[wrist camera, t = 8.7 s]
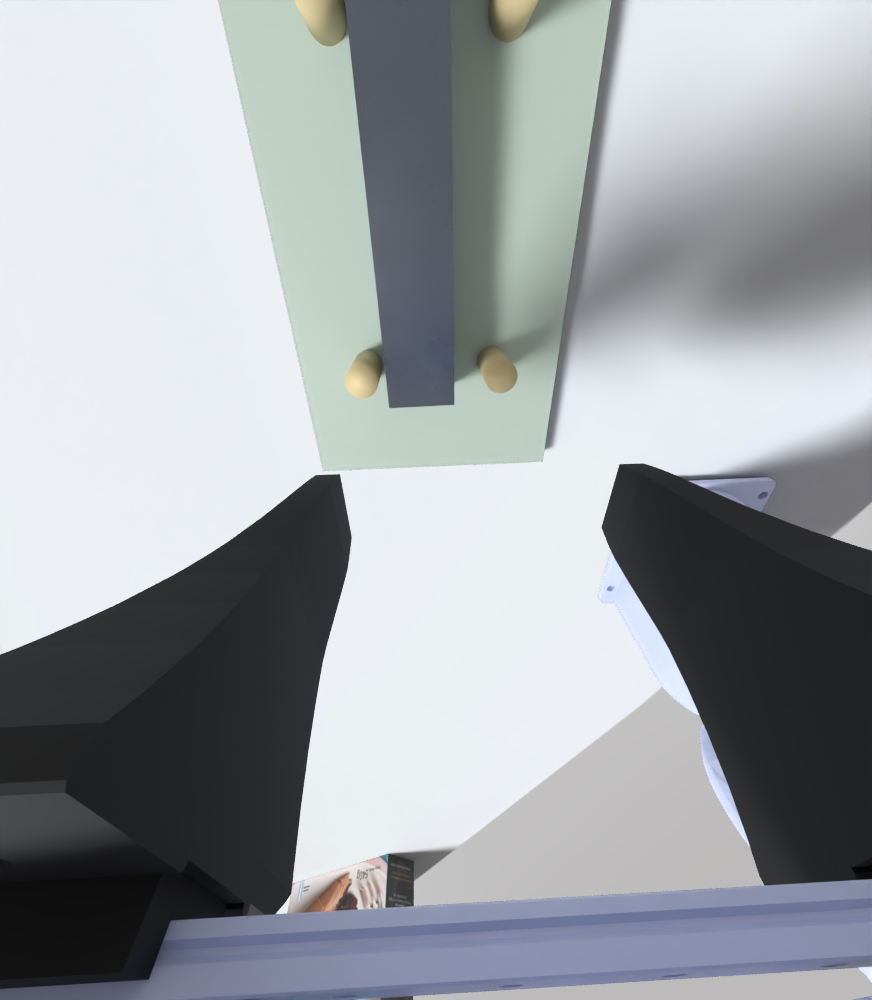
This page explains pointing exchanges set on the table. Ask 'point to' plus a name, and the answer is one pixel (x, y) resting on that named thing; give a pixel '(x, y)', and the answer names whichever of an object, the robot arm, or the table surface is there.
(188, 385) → the table surface
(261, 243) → the table surface
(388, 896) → the cake mix box
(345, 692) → the table surface
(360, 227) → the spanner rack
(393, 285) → the dark grey spoon shape
